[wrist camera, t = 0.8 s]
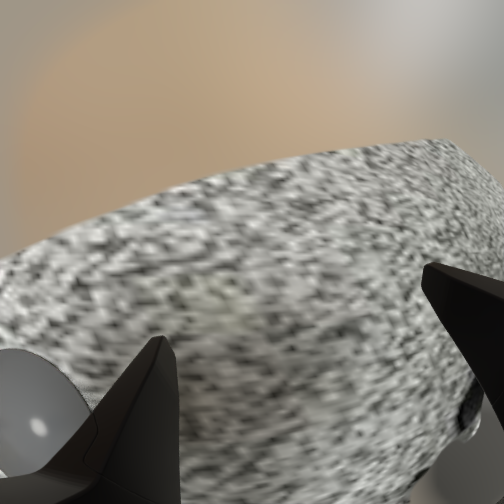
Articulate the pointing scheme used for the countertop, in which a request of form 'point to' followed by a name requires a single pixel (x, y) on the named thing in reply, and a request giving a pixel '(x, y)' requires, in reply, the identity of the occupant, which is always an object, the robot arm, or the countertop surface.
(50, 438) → the slate coaster
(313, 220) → the countertop surface
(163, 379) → the robot arm
